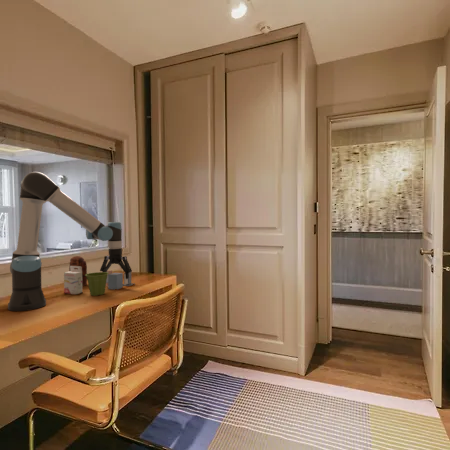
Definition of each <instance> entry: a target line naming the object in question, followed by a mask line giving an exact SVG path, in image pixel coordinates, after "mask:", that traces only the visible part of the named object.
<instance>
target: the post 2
mask: <svg viewBox="0 0 450 450" xmlns="http://www.w3.org/2000/svg"><path fill="white" fill-rule="evenodd" d="M133 284H134V285H135V284H136V283H132V272H129V278H128V284H126V285H124V283H123V287H132V286H134V285H133Z"/></svg>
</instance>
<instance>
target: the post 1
mask: <svg viewBox="0 0 450 450" xmlns="http://www.w3.org/2000/svg"><path fill="white" fill-rule="evenodd" d="M107 272H108V273H109V274H112V273H113V270H109V269H108V270H107ZM105 287H108V283H106V286H105Z"/></svg>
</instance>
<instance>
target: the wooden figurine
mask: <svg viewBox="0 0 450 450" xmlns="http://www.w3.org/2000/svg"><path fill="white" fill-rule="evenodd" d="M70 266H81V267H82V287H83V286H86V285H88V280H87V277H86V276H85V275H86V274H88V272H87V271H88V269H87V268H88V267H87V262H86V261H85V259H84V258H83V257H82V256H80V255H79V256H78V255H75V256H72V257H71V258H70V260H69V268H68V269H69V270H68V271H70ZM74 269H78V268H74Z"/></svg>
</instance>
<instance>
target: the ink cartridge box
mask: <svg viewBox="0 0 450 450" xmlns="http://www.w3.org/2000/svg"><path fill="white" fill-rule="evenodd" d="M69 267H70V271H69V270H68V271H65V272H63V292H64V294H69V295H78V294H81V293H83V286H82V267H81V266H70V265H69ZM74 268H78V269H74Z"/></svg>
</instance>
